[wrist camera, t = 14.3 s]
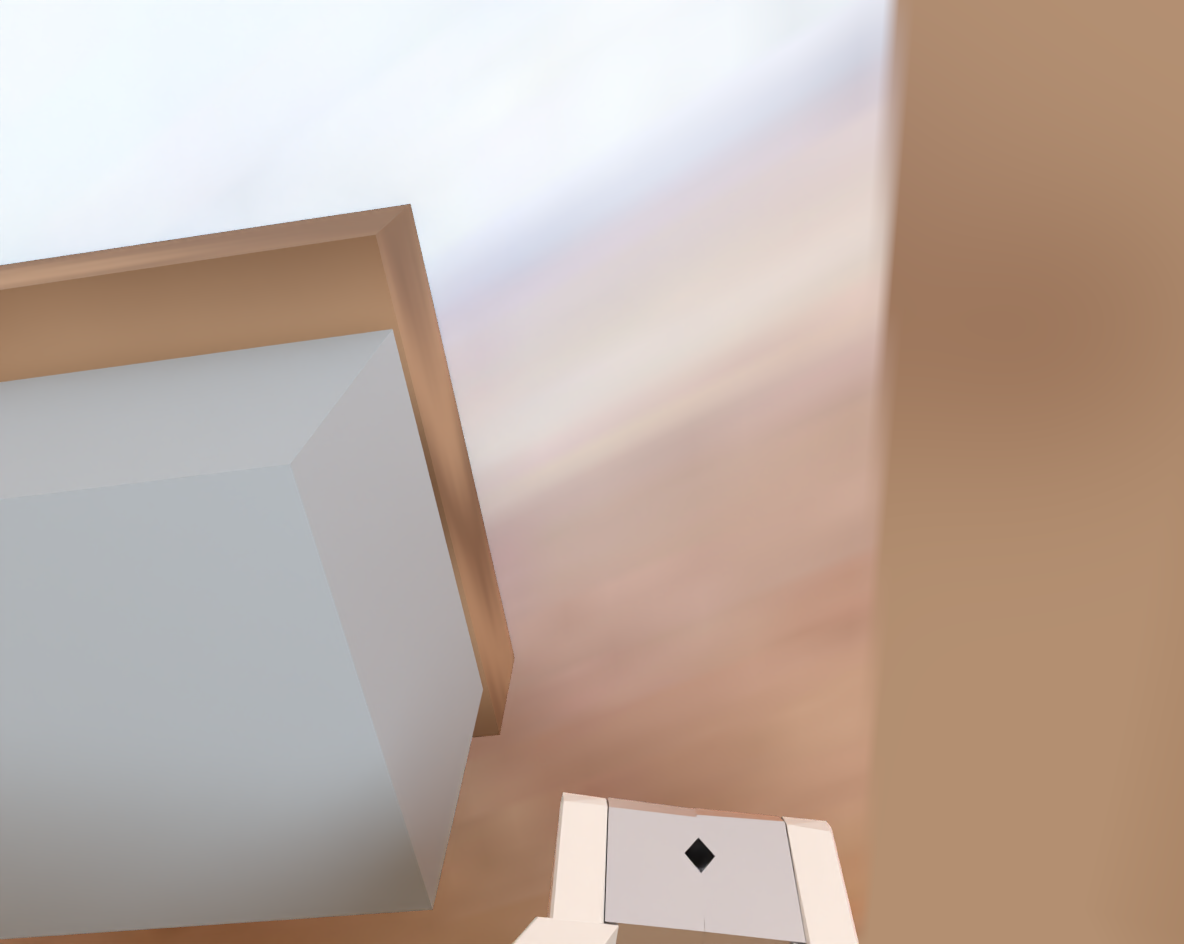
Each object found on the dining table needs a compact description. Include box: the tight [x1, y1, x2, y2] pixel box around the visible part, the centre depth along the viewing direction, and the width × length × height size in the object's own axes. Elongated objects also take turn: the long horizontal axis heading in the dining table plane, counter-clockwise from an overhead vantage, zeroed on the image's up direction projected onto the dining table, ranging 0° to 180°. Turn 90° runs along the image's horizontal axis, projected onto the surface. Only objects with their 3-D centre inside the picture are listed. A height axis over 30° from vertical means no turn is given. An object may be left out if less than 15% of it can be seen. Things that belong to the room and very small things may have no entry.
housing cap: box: [0, 329, 483, 939], centre depth 18 cm, size 9×9×6 cm
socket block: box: [0, 204, 514, 737], centre depth 23 cm, size 12×18×3 cm, turn 99°
